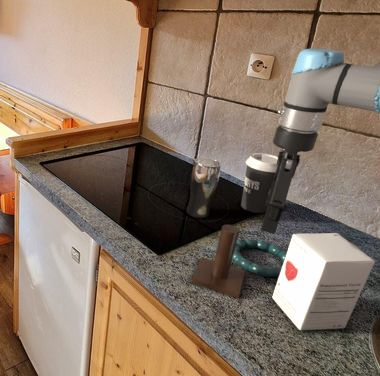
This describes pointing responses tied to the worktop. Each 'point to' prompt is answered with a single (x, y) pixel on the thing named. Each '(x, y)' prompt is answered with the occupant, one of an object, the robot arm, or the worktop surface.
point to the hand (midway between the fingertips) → (269, 218)
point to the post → (221, 266)
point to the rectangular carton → (321, 280)
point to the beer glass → (202, 186)
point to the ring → (255, 267)
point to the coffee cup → (258, 181)
